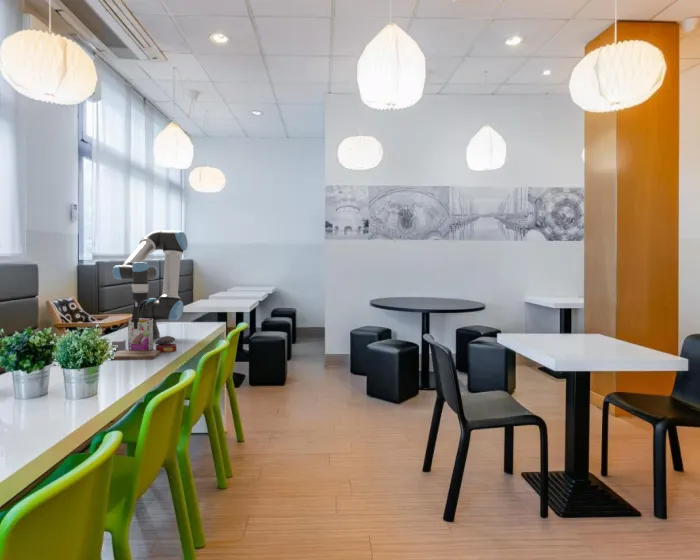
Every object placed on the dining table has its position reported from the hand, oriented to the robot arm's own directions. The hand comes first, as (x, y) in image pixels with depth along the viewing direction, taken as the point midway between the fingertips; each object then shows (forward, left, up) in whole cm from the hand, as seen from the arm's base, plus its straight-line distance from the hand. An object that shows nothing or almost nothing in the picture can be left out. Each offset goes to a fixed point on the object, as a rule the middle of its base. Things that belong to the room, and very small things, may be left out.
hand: (140, 333), depth 243 cm
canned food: (+2, +13, -9) cm, 16 cm away
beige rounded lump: (-7, +11, -9) cm, 16 cm away
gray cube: (-1, -11, -9) cm, 14 cm away
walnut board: (+15, +2, -9) cm, 17 cm away
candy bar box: (0, 0, -9) cm, 9 cm away
